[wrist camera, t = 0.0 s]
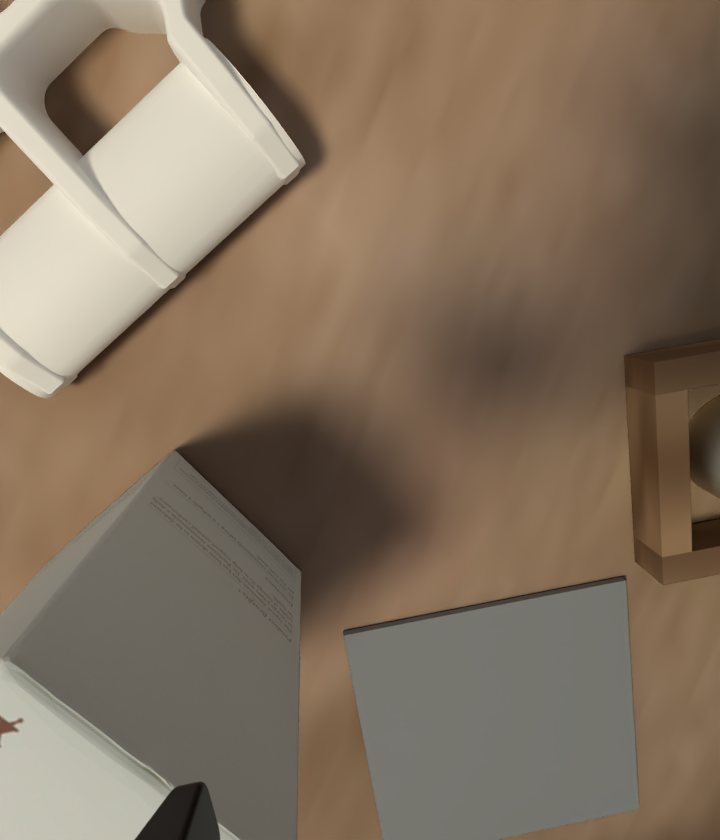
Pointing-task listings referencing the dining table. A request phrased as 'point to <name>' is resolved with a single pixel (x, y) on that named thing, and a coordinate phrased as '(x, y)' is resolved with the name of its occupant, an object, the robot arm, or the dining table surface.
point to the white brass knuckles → (121, 182)
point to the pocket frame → (668, 461)
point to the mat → (499, 715)
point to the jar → (706, 447)
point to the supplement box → (153, 671)
